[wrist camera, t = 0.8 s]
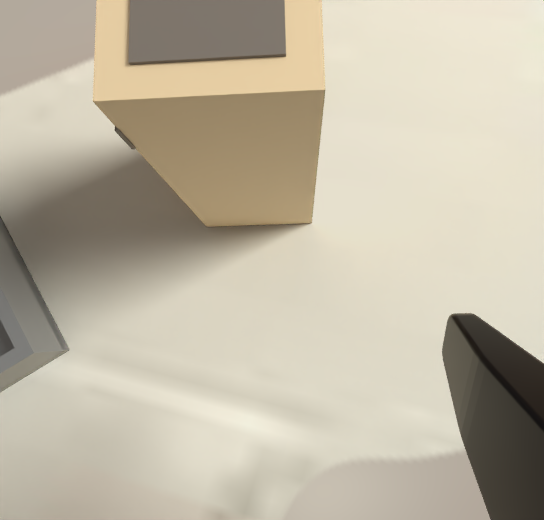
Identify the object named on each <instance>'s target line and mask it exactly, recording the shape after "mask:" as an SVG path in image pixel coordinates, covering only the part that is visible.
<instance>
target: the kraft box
mask: <svg viewBox="0 0 544 520" xmlns="http://www.w3.org/2000/svg"><path fill="white" fill-rule="evenodd" d="M324 97H325V72H324V48H323V24H322V0H97V4H96V31H95V58H94V85H93V102H94V103H95V104H96V105H97V106H98V108H99V109H100V110H101V111H102V112H103V113H104V114H105V115H106V116H107V117H108V119H109V120H110V121H111V122H112V123H113V124H114V125H115V131H116V133H117V134H118V135H119V136H120V137H121V138H122V139H123V140H124V141H125V142H126V143H127V144H128V145H129V147H130V148H131V149H137V151H138V152H139V153H140V154H141V155H142V156H143V157H144V158H145V159H146V160H147V162H148V163H149V164H150V165H151V166H152V167H153V168H154V169H155V170H156V171H157V173H158V174H159V175H160V176H161V177H162V178H163V179H164V180H165V181H166V183H167V184H168V185H169V186H170V187H171V188H172V189H173V190H174V191H175V192H176V194H177V195H178V196H179V197H180V198H181V199H182V200H183V201H184V202H185V203H186V205H187V206H188V207H189V208H190V209H191V210H192V211H193V212H194V213H195V215H196V216H197V217H198V218H199V219H200V220H201V221H202V222H203V223H204V224H205V226H206V227H214V226H243V225H271V224H300V223H312V214H313V204H314V195H315V185H316V175H317V165H318V155H319V146H320V136H321V126H322V116H323V106H324Z"/></svg>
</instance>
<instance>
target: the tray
mask: <svg viewBox="0 0 544 520" xmlns="http://www.w3.org/2000/svg"><path fill="white" fill-rule="evenodd" d="M67 351H69V348H68V346H67V344H66V342H65V340H64V338H63V336H62V334H61V332H60V330H59V329H58V327H57V325H56V323H55V321H54V319H53V317H52V315H51V313H50V311H49V309H48V307H47V305H46V303H45V302H44V300H43V298H42V296H41V294H40V292H39V290H38V288H37V286H36V284H35V282H34V280H33V278H32V276H31V275H30V273H29V271H28V269H27V267H26V265H25V263H24V261H23V259H22V257H21V255H20V253H19V251H18V249H17V248H16V246H15V244H14V242H13V240H12V238H11V236H10V234H9V232H8V230H7V228H6V226H5V224H4V222H3V221H2V219H1V217H0V392H1V391H3V390H5V389H6V388H8V387H10V386H11V385H13V384H15V383H16V382H18V381H19V380H21V379H23V378H24V377H26V376H28V375H29V374H31V373H33V372H34V371H36V370H38V369H39V368H41V367H42V366H44V365H46V364H47V363H49V362H51V361H52V360H54V359H56V358H57V357H59V356H61V355H62V354H64V353H66V352H67Z"/></svg>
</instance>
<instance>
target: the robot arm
mask: <svg viewBox="0 0 544 520" xmlns="http://www.w3.org/2000/svg"><path fill="white" fill-rule="evenodd" d="M442 355H443V362H444V366H445V370H446V375H447V379H448V383H449V388H450V392H451V396H452V401H453V405H454V409H455V414H456V418H457V422H458V426H459V430H460V434H461V437H462V440H463V443H464V446H465V449H466V452H467V455H468V458H469V460H470V463H471V466H472V469H473V472H474V474H475V477H476V480H477V483H478V485H479V488H480V491H481V494H482V497H483V499H484V502H485V505H486V508H487V511H488V513H489V516H490V519H491V520H544V363H542V362H541V361H540V360H538V359H537V358H535V357H534V356H533V355H531V354H530V353H528V352H527V351H526V350H524V349H523V348H521V347H520V346H519V345H517V344H516V343H514V342H513V341H512V340H510V339H509V338H507V337H506V336H504V335H503V334H502V333H500V332H499V331H497V330H496V329H495V328H493V327H492V326H490V325H489V324H488V323H486V322H485V321H483V320H482V319H481V318H479V317H478V316H476V315H475V314H472V313H458V314H452V315H450V316H449V318H448V321H447V326H446V331H445V337H444V342H443V348H442Z"/></svg>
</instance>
